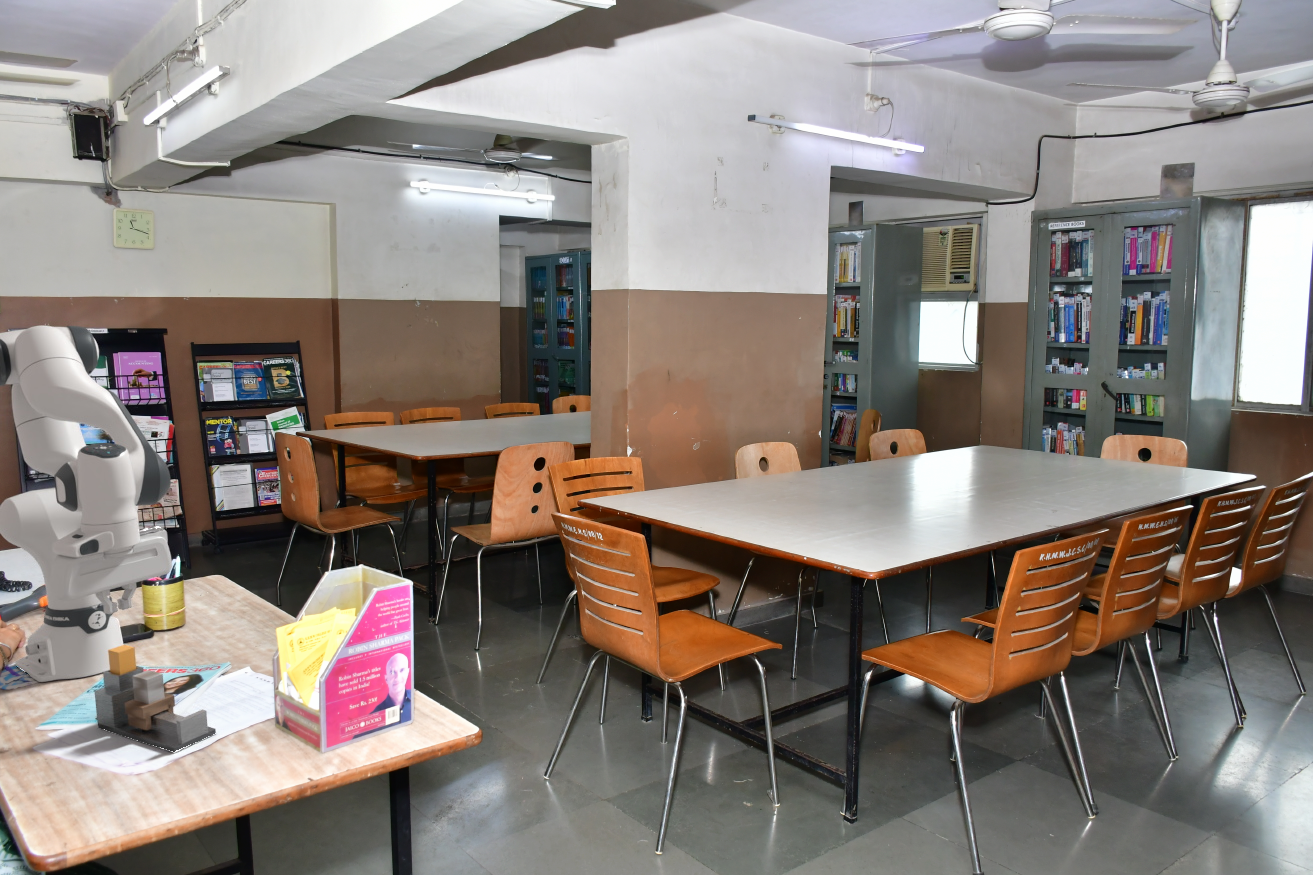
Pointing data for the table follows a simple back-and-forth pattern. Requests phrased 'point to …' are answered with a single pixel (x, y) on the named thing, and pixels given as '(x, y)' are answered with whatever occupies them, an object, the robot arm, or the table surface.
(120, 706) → the grey stepped block fixture
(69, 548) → the robot arm
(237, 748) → the table surface
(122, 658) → the orange block
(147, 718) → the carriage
